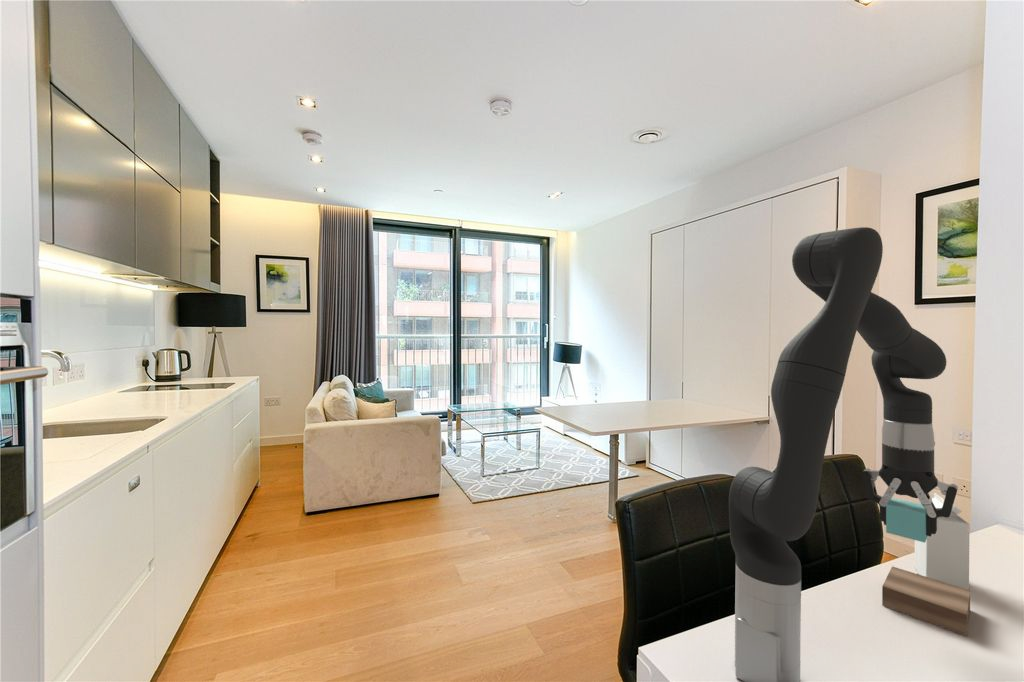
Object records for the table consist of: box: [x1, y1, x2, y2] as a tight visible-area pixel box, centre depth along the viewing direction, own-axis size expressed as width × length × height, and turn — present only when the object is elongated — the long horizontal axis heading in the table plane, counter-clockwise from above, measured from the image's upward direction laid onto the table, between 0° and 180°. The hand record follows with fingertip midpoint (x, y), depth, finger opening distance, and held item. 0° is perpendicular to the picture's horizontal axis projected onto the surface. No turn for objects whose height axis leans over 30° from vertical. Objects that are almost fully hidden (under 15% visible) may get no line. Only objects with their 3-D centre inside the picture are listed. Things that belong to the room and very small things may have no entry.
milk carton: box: [914, 492, 971, 590], centre depth 97 cm, size 7×7×19 cm
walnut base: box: [881, 566, 971, 637], centre depth 87 cm, size 12×12×4 cm
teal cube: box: [885, 497, 928, 543], centre depth 83 cm, size 6×6×6 cm
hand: (907, 529), depth 83 cm, fingers closed on teal cube, 5 cm apart
